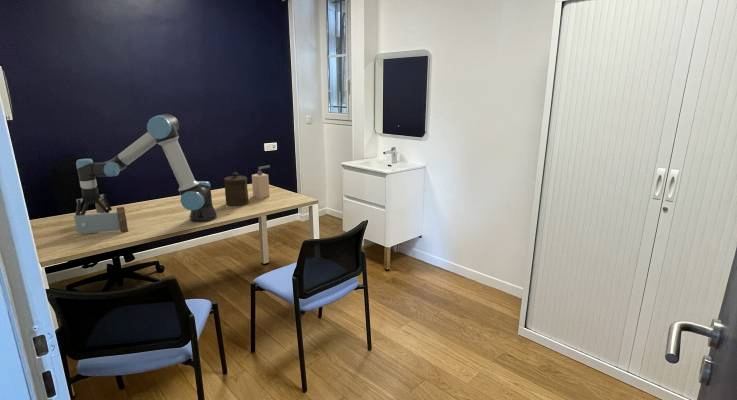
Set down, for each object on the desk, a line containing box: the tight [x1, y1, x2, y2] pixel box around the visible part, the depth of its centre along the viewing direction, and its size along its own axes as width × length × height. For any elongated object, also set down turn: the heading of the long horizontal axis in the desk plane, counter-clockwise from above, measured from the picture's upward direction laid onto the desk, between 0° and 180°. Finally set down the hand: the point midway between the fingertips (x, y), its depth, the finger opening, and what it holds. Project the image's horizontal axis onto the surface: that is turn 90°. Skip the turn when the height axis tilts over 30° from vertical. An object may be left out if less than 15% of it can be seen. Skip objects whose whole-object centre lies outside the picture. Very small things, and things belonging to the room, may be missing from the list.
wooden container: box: [223, 171, 250, 207], centre depth 274 cm, size 15×15×22 cm
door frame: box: [94, 197, 129, 234], centre depth 231 cm, size 36×3×14 cm, turn 52°
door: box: [73, 211, 120, 235], centre depth 219 cm, size 22×3×10 cm, turn 109°
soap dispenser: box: [251, 165, 271, 200], centre depth 293 cm, size 13×9×22 cm
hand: (96, 225), depth 226 cm, fingers open, 10 cm apart
